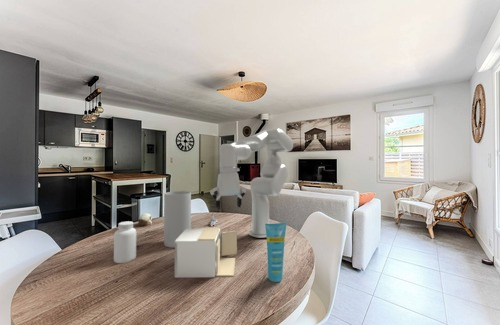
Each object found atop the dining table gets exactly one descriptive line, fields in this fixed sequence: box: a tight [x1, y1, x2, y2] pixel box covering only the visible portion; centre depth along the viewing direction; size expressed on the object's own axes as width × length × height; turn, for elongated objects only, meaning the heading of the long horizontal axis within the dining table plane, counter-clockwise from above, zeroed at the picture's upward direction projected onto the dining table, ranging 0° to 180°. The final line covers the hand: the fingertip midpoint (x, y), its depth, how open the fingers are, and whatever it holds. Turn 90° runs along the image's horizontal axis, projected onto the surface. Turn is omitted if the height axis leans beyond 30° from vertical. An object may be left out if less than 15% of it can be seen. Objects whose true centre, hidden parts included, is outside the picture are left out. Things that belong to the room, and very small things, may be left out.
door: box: [220, 230, 238, 257], centre depth 91 cm, size 8×7×10 cm
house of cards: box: [208, 212, 219, 226], centre depth 135 cm, size 9×9×8 cm
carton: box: [174, 227, 236, 278], centre depth 79 cm, size 20×14×13 cm
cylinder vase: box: [163, 190, 192, 249], centre depth 103 cm, size 12×12×25 cm
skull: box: [134, 212, 153, 227], centre depth 131 cm, size 12×10×10 cm
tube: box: [265, 222, 287, 283], centre depth 72 cm, size 7×5×19 cm, turn 103°
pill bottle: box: [113, 220, 137, 264], centre depth 85 cm, size 8×8×15 cm
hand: (228, 207), depth 96 cm, fingers open, 9 cm apart
